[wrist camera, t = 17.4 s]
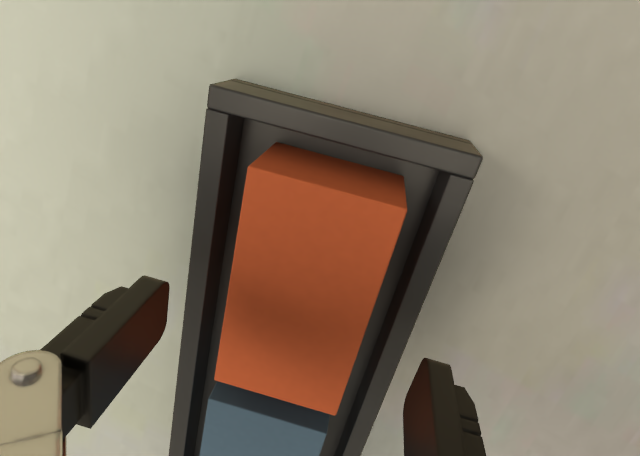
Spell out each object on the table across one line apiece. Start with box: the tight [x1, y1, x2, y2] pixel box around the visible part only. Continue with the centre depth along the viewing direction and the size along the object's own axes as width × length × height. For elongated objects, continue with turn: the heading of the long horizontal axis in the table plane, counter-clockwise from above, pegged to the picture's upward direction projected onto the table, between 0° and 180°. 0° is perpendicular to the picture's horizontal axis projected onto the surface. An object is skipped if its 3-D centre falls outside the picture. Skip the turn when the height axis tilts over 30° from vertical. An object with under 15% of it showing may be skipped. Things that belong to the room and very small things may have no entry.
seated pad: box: [199, 381, 330, 456], centre depth 20 cm, size 9×5×4 cm, turn 167°
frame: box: [169, 79, 483, 456], centre depth 19 cm, size 23×9×2 cm, turn 167°
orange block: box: [214, 142, 407, 416], centre depth 16 cm, size 9×5×4 cm, turn 167°
